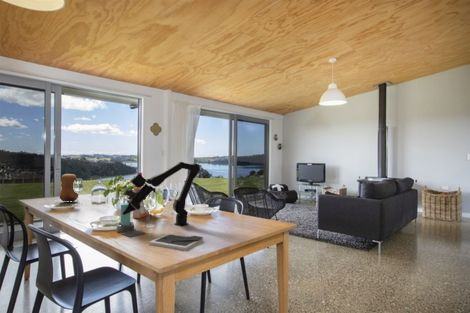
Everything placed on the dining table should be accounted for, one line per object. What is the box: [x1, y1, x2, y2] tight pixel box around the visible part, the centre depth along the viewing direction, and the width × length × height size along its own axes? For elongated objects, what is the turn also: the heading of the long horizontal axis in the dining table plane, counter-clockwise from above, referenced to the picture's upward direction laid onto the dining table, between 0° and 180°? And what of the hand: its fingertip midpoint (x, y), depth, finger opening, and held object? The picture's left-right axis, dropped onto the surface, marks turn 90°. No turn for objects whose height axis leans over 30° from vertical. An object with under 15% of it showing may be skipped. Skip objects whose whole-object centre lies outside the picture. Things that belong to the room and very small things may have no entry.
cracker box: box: [132, 185, 149, 219], centre depth 195 cm, size 14×6×21 cm, turn 168°
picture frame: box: [148, 233, 204, 252], centre depth 138 cm, size 16×3×21 cm
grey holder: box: [116, 221, 135, 233], centre depth 161 cm, size 9×9×3 cm
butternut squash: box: [59, 173, 79, 202], centre depth 245 cm, size 14×13×25 cm
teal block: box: [119, 202, 131, 226], centre depth 161 cm, size 5×5×12 cm
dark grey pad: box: [120, 229, 146, 238], centre depth 152 cm, size 9×9×1 cm
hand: (122, 213), depth 160 cm, fingers closed on teal block, 5 cm apart
